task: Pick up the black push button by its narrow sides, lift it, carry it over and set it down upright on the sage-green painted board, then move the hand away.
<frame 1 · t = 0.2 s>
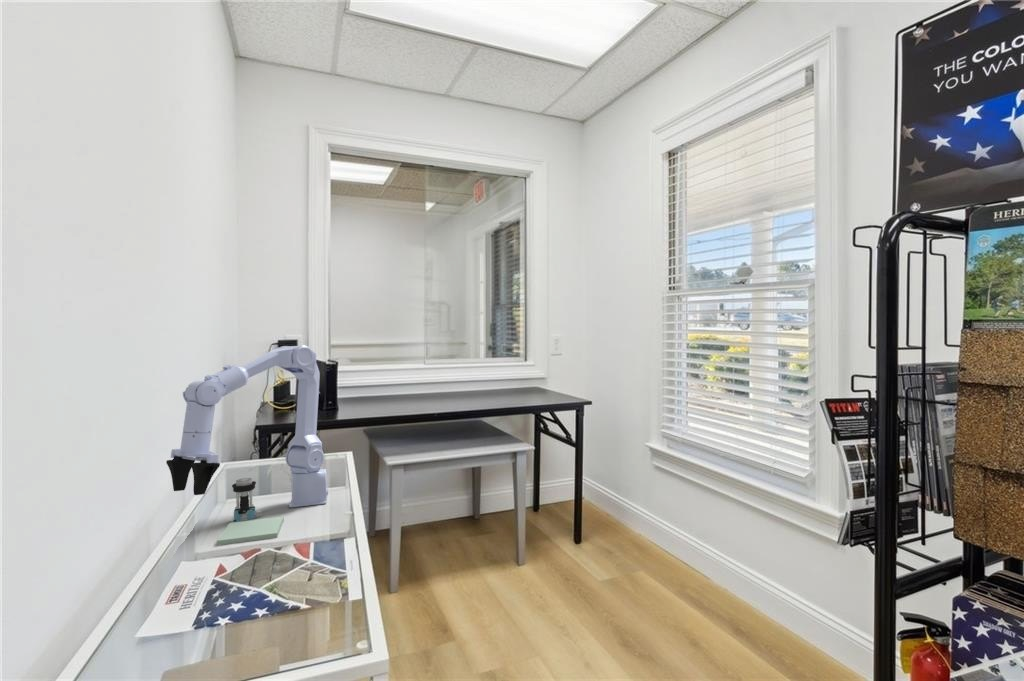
hand: (189, 492, 113), 11 cm above the table, tool pointing down, fingers open, 7 cm apart
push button: (247, 519, 125), on the table
sage board: (252, 532, 116), on the table
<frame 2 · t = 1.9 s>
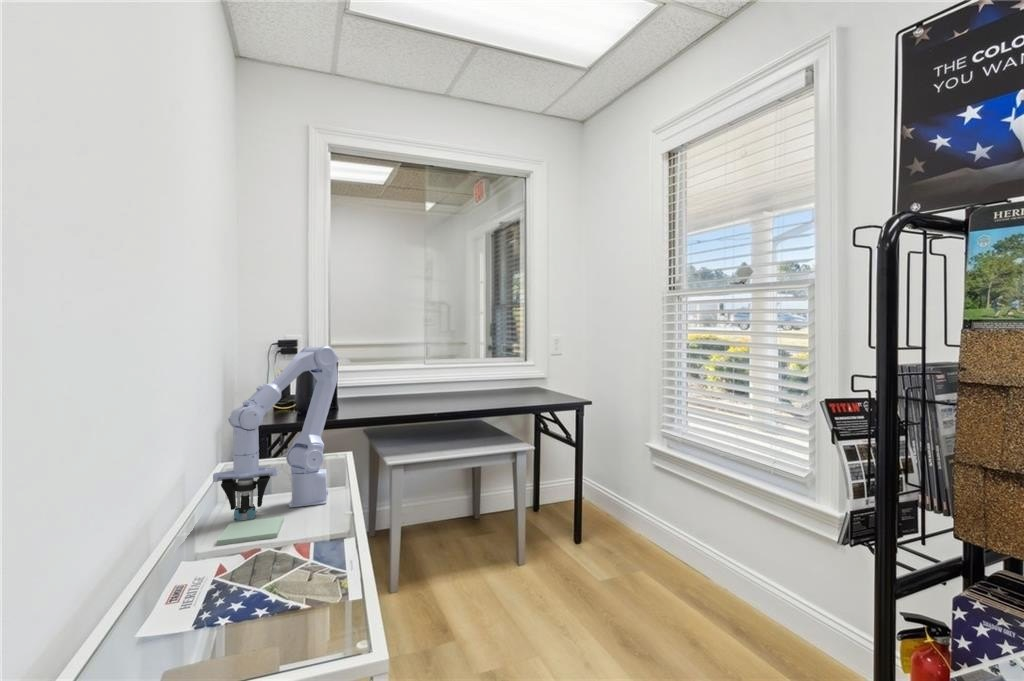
hand: (246, 507, 125), 3 cm above the table, tool pointing down, fingers open, 5 cm apart
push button: (247, 519, 125), on the table, touching gripper
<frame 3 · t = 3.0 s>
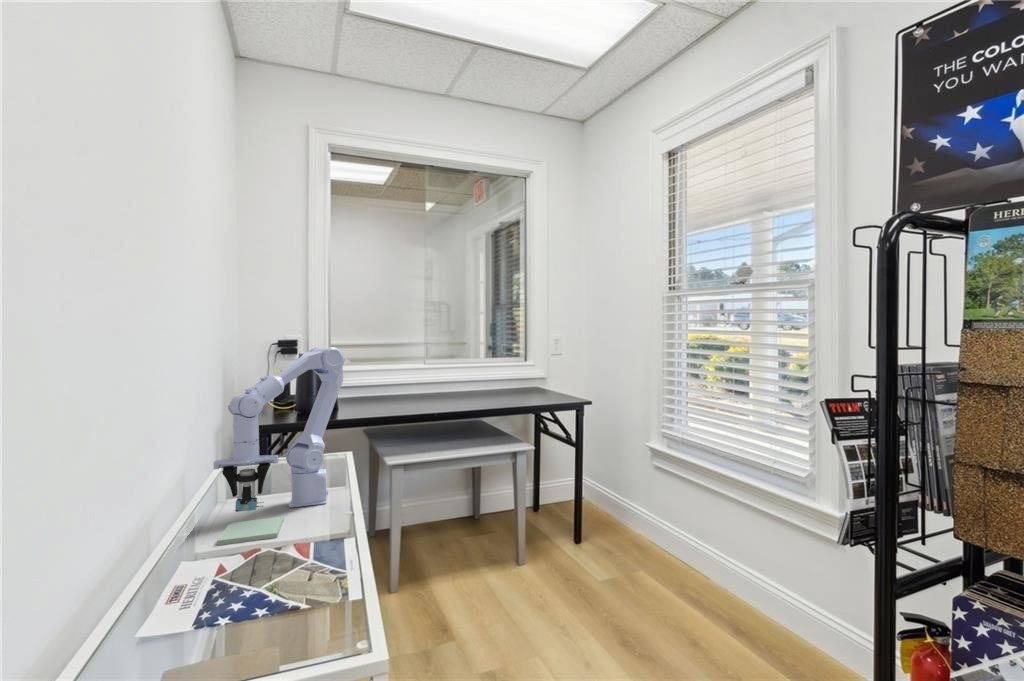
hand: (247, 494, 125), 6 cm above the table, tool pointing down, fingers closed on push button, 5 cm apart
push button: (249, 510, 125), point 2 cm above the table, touching gripper
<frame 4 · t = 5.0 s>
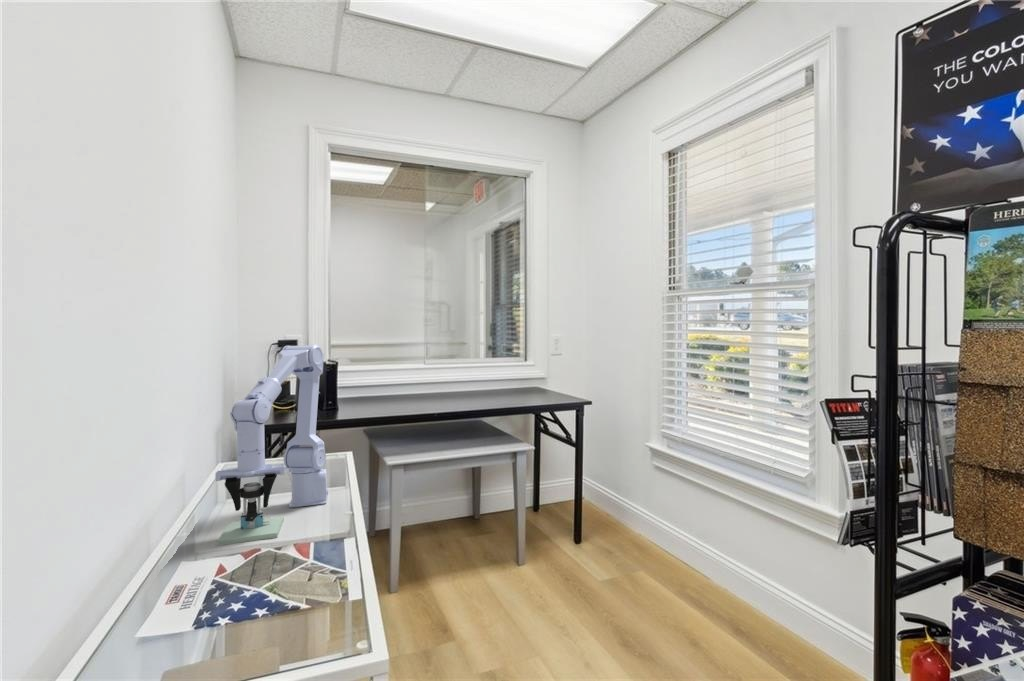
hand: (252, 508, 116), 6 cm above the table, tool pointing down, fingers closed on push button, 5 cm apart
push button: (255, 526, 117), point 1 cm above the table, touching gripper, sage board
when the fingers open (5 cm above the table, at t = 5.6 s): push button stays where it is, resting on sage board.
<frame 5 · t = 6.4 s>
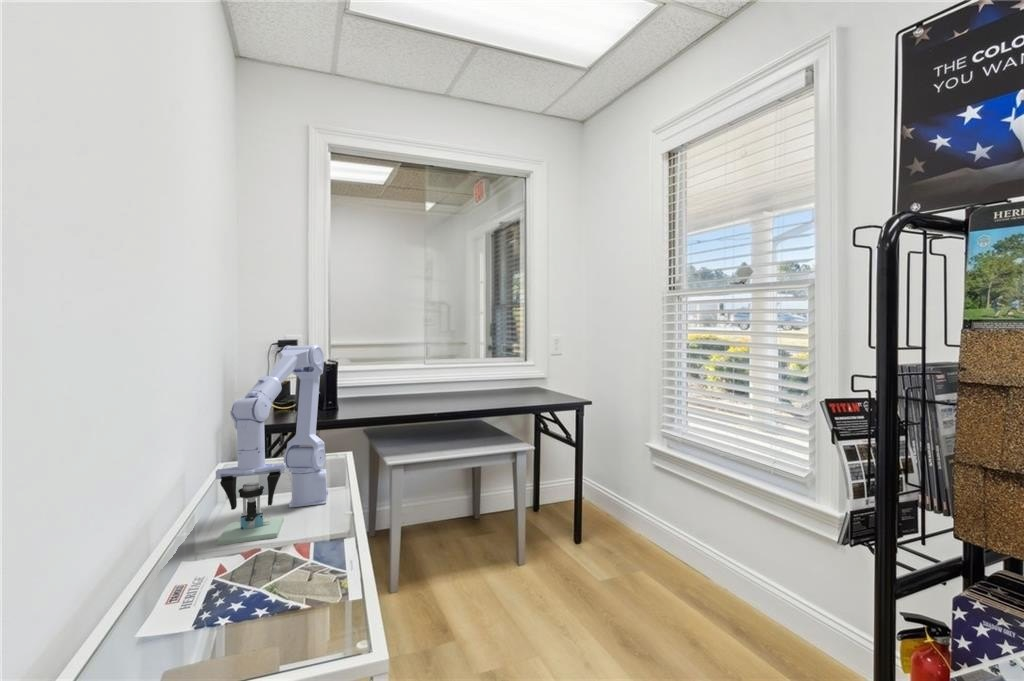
hand: (252, 506, 116), 6 cm above the table, tool pointing down, fingers open, 7 cm apart
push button: (255, 527, 117), point 1 cm above the table, touching sage board
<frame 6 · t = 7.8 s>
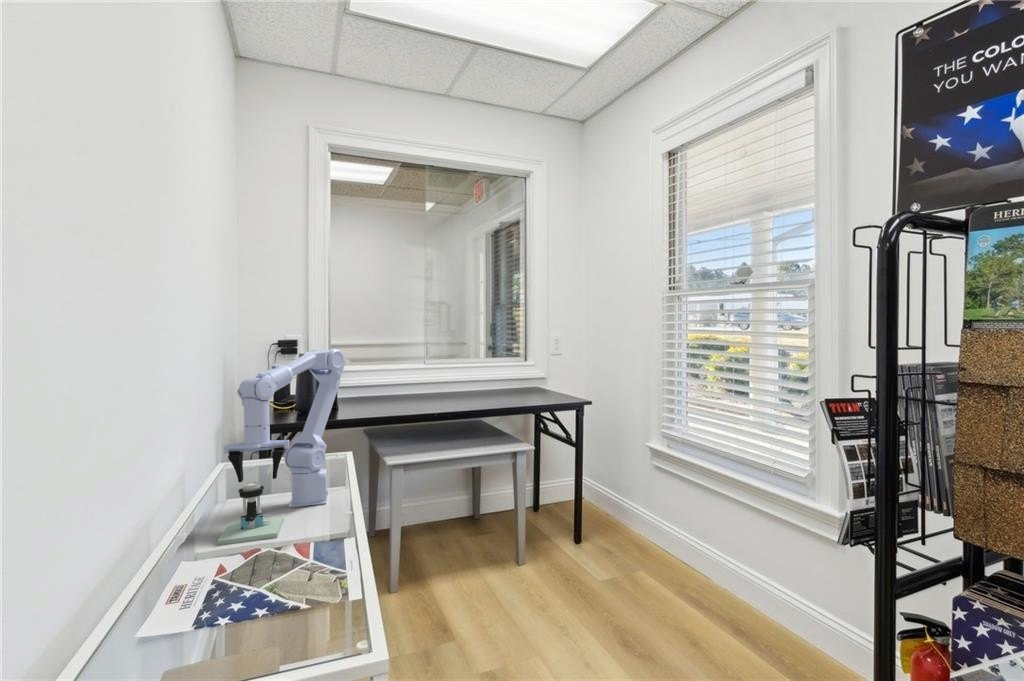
hand: (258, 479, 123), 10 cm above the table, tool pointing down, fingers open, 7 cm apart
nothing on the table moved.
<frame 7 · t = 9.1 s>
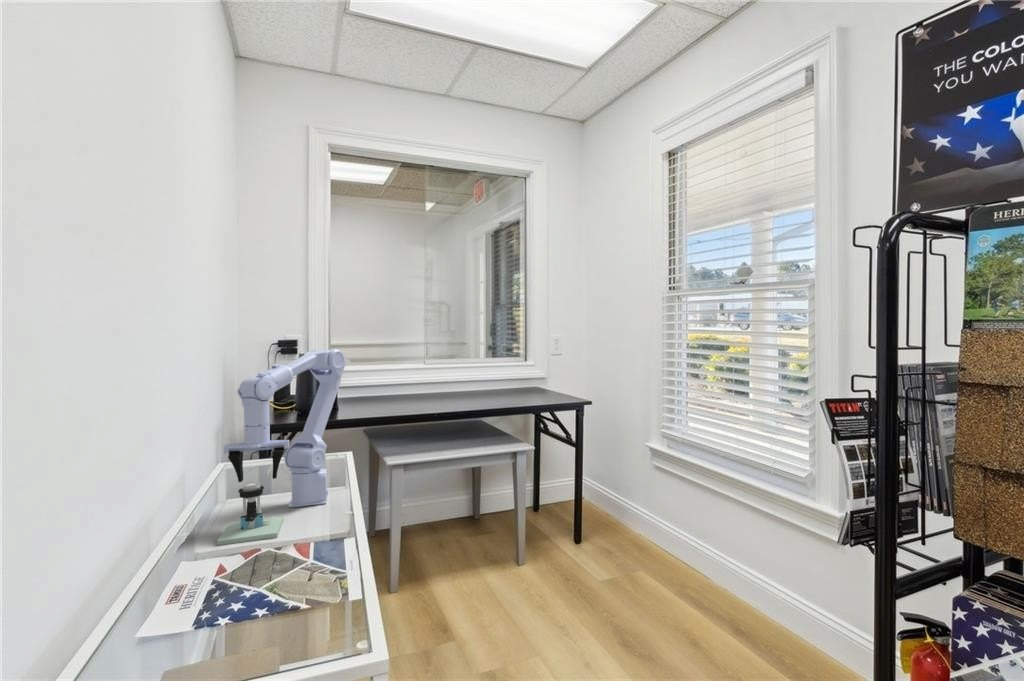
hand: (257, 479, 124), 10 cm above the table, tool pointing down, fingers open, 7 cm apart
nothing on the table moved.
at the end: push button inside the target area on the sage board (0.9 cm from its centre), point 0.8 cm above the sage board's base; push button tilted 0°; the gripper is holding nothing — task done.
